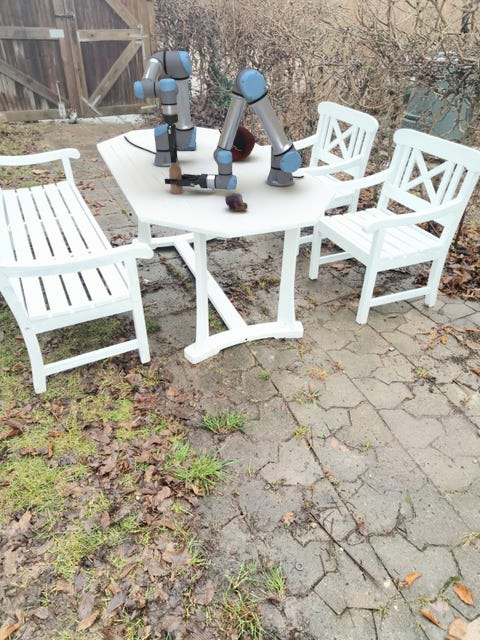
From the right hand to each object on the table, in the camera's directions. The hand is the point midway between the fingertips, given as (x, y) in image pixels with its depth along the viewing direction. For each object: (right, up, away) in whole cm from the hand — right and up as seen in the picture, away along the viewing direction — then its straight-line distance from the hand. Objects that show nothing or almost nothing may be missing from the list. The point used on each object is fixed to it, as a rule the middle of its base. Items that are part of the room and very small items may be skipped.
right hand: (167, 179), depth 245 cm
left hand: (+5, +8, -6) cm, 11 cm away
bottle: (+5, -6, +3) cm, 8 cm away
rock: (+37, -22, -20) cm, 48 cm away
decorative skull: (+38, +32, +58) cm, 76 cm away
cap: (+5, +9, -7) cm, 12 cm away
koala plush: (-1, +48, +82) cm, 95 cm away
